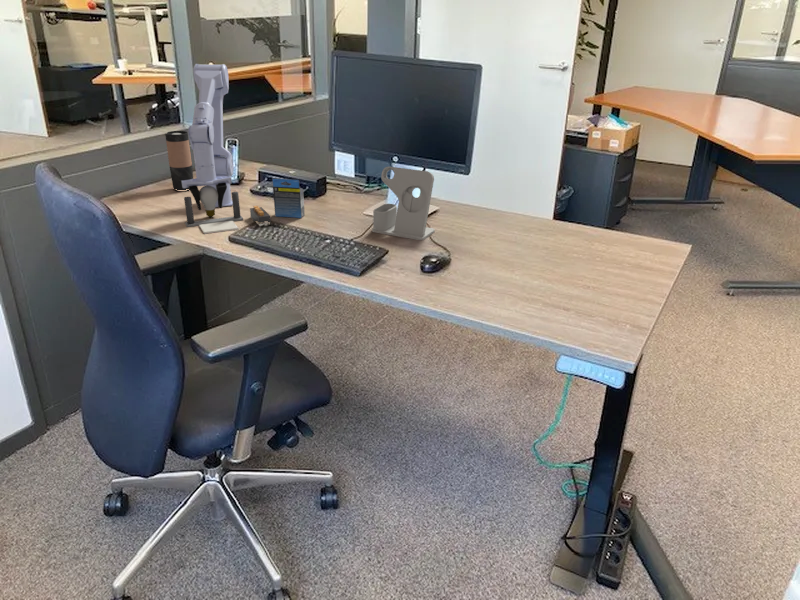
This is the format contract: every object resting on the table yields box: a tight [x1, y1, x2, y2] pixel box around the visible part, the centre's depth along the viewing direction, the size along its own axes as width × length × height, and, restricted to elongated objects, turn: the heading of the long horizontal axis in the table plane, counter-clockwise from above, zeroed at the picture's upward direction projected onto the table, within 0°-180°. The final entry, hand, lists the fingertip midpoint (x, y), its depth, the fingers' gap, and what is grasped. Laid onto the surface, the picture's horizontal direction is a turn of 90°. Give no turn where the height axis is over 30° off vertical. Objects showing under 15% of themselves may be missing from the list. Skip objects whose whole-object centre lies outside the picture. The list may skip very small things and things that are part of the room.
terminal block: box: [249, 205, 272, 223], centre depth 192 cm, size 10×4×4 cm, turn 27°
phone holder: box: [371, 166, 436, 241], centre depth 183 cm, size 17×10×18 cm, turn 64°
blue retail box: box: [271, 177, 305, 219], centre depth 196 cm, size 9×4×12 cm, turn 80°
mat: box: [199, 221, 239, 235], centre depth 187 cm, size 8×10×1 cm
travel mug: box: [164, 130, 194, 190], centre depth 221 cm, size 8×8×20 cm
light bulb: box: [199, 186, 218, 218], centre depth 194 cm, size 6×6×10 cm
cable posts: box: [183, 191, 244, 228], centre depth 190 cm, size 3×17×8 cm, turn 117°
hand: (209, 208), depth 195 cm, fingers closed on light bulb, 6 cm apart
